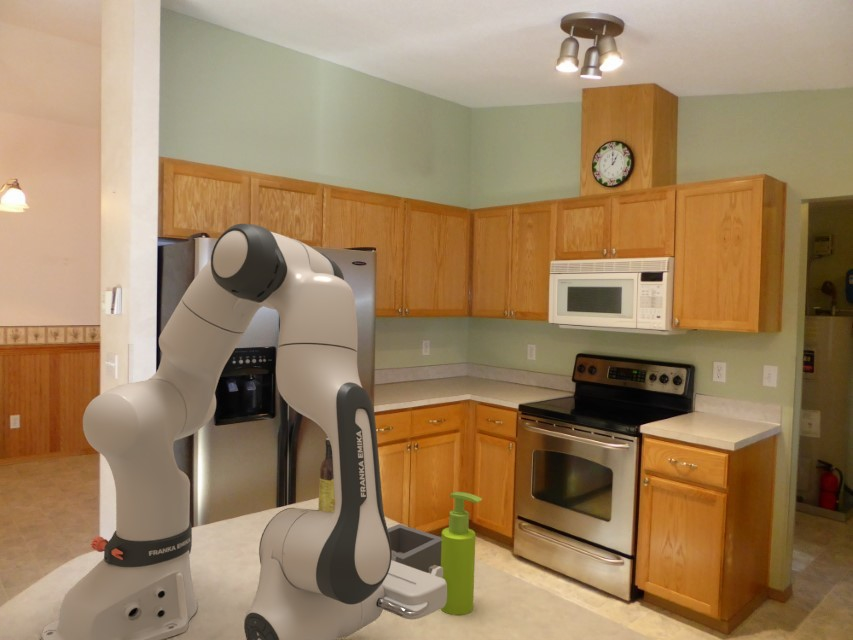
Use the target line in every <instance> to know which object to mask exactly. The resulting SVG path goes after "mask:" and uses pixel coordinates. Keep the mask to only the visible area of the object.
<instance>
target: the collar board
mask: <svg viewBox="0 0 853 640" xmlns="http://www.w3.org/2000/svg"><path fill="white" fill-rule="evenodd" d="M387 529H388V533H389V537H390V542H391V550H393V551H395V552H396V555H395V556H396V560H395V562H398V563H401V564H404V565H407V566H409V567H412V568H415V569H418V570H421V571H423V572H426V573H429V567H431V566H433V565H437V566H440V567H441V542H442V536H437V535H435V534H432V533H429V532H427V531H426V532H425V531H423V530H420V529H416V528H413V527H410V526H407V525H404V524H400V523H398V524H395V525H393V526H391V527H389V528H388V527H387Z"/></svg>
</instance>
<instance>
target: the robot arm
mask: <svg viewBox="0 0 853 640" xmlns="http://www.w3.org/2000/svg"><path fill="white" fill-rule="evenodd" d="M356 306H357V305H356V300H355V295H354V292H353V289H352V287H351V286H350V284H349V283H348V282H347V281H346V280H345V277H344V274H343V271H342V270H341V268H340V265H338V264H337V263H336V261H334V260H333V259H332V258H331V257H329V256H328V255H327V254H324V253H322V252H319V251H318V250H316V249H314V248H313V247H311V246H309V245H308V244H307V243H303V242H302V241H300V240H298V239H295V238H290V237H289V236H285V235H283V234H279V233H276V232H273V231H271V230H269V229H268V228H266V227H265V226H264V227H263V226H261V225H256V224H250V223H237V224H234V225H232V226H230V227H228V228H227V229H225V231H223V233H222V234H221V235H220V236H219V237H218V239H217V240H216V242H215V244H214V245H213V247H212V252H211V255H210V260H208V262H206V264H205V265H204V266H203V267H202V269H201V270H200V271H199V272H198V274H197V275H196V276H195V278H194V279H193V280H192V282H191V283H190V284H189V286H188V287H187V289H186V291H185V292H184V294H183V295H182V297H181V298H180V301H179V303H178V304H177V306H176V307H175V308H174V311H173V313H172V314H171V316H170V318H169V319H168V320H167V322H166V324H165V325H164V327H163V329H162V331H161V333H160V334H159V337H158V346H159V348H160V351H161V353H162V354H161V358H160V363H159V365H158V367H157V368H158V369H157V370H156V372H155V373H154V374H153V375H152V376H151V377H150V378H148V379H146V380H141V381H136V382H129V383H125V384H124V383H122V384H120V385H117V386H115V387H113V388H111V389H109V390H106V391H105V392H103V393H101V394H99V395H97V396H95V397H94V398H93V399H92V400H91V401H90V402H89V403H88V405H87V406H86V408H85V411H84V413H83V416H82V430H83V434H84V436H85V438H86V441H87V442H88V444H89V445H90V446H91V448H93V450H95V451H96V452H98V453H99V454H101V455H102V456H103V457H104V458H105V460H106V462H107V464H108V466H109V468H110V471H111V474H112V477H113V481H114V486H115V509H116V510H115V511H116V513H115V514H116V515H115V518H116V519H115V521H116V523H115V527H116V528H115V531H114V532H113V534H112V536H111V538H110V539H109V540H108V539H106V538H104V537H103V536H95V538H93V539H92V541H91V542H90V543H91V544H90V547H91V549H93V550H95V551H96V552H98V553H102V552H103V558H102V559H101V560H100V562H98V563H97V564H96V565H95V566H93V568H92V569H91V570H89V572H88V573H86V574H85V576H83V577H82V578H81V579H80V580H79V581H77V583H76V584H75V585H73V586H72V587H71V588H69V590H67V592H66V594H64V597H63V600H62V604H61V606H60V607H61V608H60V610H59V617H58V619H57V620H55V621H53V622H50V623H48V624H47V625H45V626H44V628H43V629H42V633H41V640H165V639H168V638H171V637H173V636H176V635H179V634H182V633H183V634H184V633H185V632H186V631H187V630H188V627H189V622H190V620H191V618H192V617H193V616H194V615H195V614H196V612H197V611H198V607H199V604H198V601H197V597H196V594H195V590H194V585H193V580H192V571H191V560H190V559H191V558H190V554H191V551H192V546H193V545H192V544H193V533H192V532H193V527H192V523H191V522H190V509H191V508H190V507H191V506H190V505H191V504H190V501H191V499H190V498H191V497H190V496H191V482H190V481H191V480H190V479H189V476H188V475H187V474H186V473H185V472H184V471H182V470H181V469H179V466H178V464H177V461H176V458H175V453H174V452H175V451H174V443H175V442H176V441H177V440H181V439H183V438H186V437H189V436H192V435H193V434H194V435H195V433H196V432H198V431H200V430H201V428H203V427H205V426H206V425H207V424H208V423H209V422H210V421H211V420H212V418H214V415H215V412H216V409H217V398H216V390H217V386H218V383H219V380H220V377H221V375H222V372H223V370H224V368H225V366H226V364H227V363H228V361H229V360H230V357H231V356H232V354H233V353H234V351H235V349H236V347H237V345H238V344H239V343H240V341H241V339H242V337H243V336H244V334H245V333H246V330H247V329H248V327H249V325H250V324H251V322H252V320H253V318H254V316H255V315H256V313H257V312H258V311H259V310H260V309H261V308H268V309H270V310H276V312H277V313H278V317H279V333H278V340H277V341H278V342H277V352H276V362H275V364H276V365H275V377H276V385H277V390H278V392H279V394H280V396H281V397H282V399H283V400H284V401H285V402H286V404H288V405H289V407H290V408H292V409H293V410H294V411H296V412H297V413H299V414H300V415H302V416H304V417H306V418H307V419H310V420H311V421H312V422H314V423H315V424H317V425H318V426H319V427H320V428H321V429H322V430H323V432H324V433H325V434H326V436H327V438H329V441H330V443H331V447H332V456H333V473H334V491H335V511H334V512H325V511H320V510H318V509H311V508H303V507H302V508H301V507H288V508H285V509H282V510H280V511H279V512H277V513H276V514H275V515H274V516H273V517H272V518H271V519H270V520H269V521H268V523H267V524H266V526H265V528H264V529H263V532H262V535H261V537H260V540H259V541H260V542H259V547H258V549H259V550H258V555H259V563H260V571H259V579H258V584H257V588H256V589H257V590H256V593H255V596H254V599H253V601H252V603H251V605H250V606H249V608H248V609H247V612H246V614H245V617H244V619H243V621H244V622H243V623H244V624H243V629H244V635H245V639H246V640H338V639H340V638H346V637H349V636H351V635H353V634H355V633H356V632H358V631H360V630H361V629H363V628H365V627H367V626H369V625H370V624H372V623H373V622H376V621H377V620H378V619H379V618H380V617H381V615H382V614H383V611H386V612H389V613H391V614H393V615H396V616H398V617H401V618H402V619H405V620H419V619H422V618H424V617H426V616H429V615H430V614H433V613H435V612H437V611H439V610H441V608H443V607H444V606H445V605H446V601H447V584H446V580H445V579H443V578H442V577H443V567H440V566H437V565H433V566H431V567H429V573H426V572H423V571H421V570H418V569H415V568H412V567H409V566H407V565H404V564H401V563H398V562H395V560H396V556H395V555H396V552H395V551H393V550H391V542H390V537H389V533H388V526H387V522H386V518H385V513H384V512H385V511H384V504H383V495H382V492H383V491H382V482H381V480H382V479H381V467H380V459H379V458H380V456H379V455H380V454H379V445H378V444H379V443H378V435H377V424H376V417H375V412H374V411H375V409H374V405H373V403H372V402H373V401H372V399H371V396H370V395H369V393H368V392H367V390H366V389H364V388H363V386H362V383H361V378H360V375H359V370H358V346H359V345H358V344H359V343H358V341H359V340H358V339H359V337H358V336H359V335H358V331H359V330H358V316H357V307H356Z"/></svg>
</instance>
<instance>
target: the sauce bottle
mask: <svg viewBox="0 0 853 640" xmlns="http://www.w3.org/2000/svg"><path fill="white" fill-rule="evenodd" d="M324 443H325V458H324V460H323V461H322V462H321V465H320V469H319V470H320V474H319V484H318V485H319V487H318V509H317V510H320V511H325V512H334V511H335V491H334V473H333V456H332V447H331V443H330V441H329V438H328V437H327V438H325V442H324Z"/></svg>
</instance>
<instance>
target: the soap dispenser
mask: <svg viewBox="0 0 853 640" xmlns="http://www.w3.org/2000/svg"><path fill="white" fill-rule="evenodd" d="M449 496H450V499H451V498H452V499H454V508H453V509H452V510H450V511H449V515H448V516H449V518H448V519H449V521H448V523H449V524H448V527H445V528H443V529H442V531H441V537H442V542H441V567H443V577H442V578H443V579H445V580H446V584H447V601H446V605H445V606H444V607H443V608H441V609H440V610H441V611H443V612H444V614H445V613H446V614H447V615H452V616H464V615H467V614H470V613H471V612H472V611H473V610H474V597H475V595H474V589H475V561H476V560H475V557H476V532H475V531H474V530H473V529H471V528H469V526H470V525H469V523H470V522H469V521H470V520H469V519H470V513H469V511H467V510H466V509H465V501H469V502H470V503H473V504H478V503H479V502H481V501H482V500H483V498H482V497H480V496H478V495H475V494H472V493H468V492H464V491H454V492H452V493H450V495H449Z"/></svg>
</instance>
